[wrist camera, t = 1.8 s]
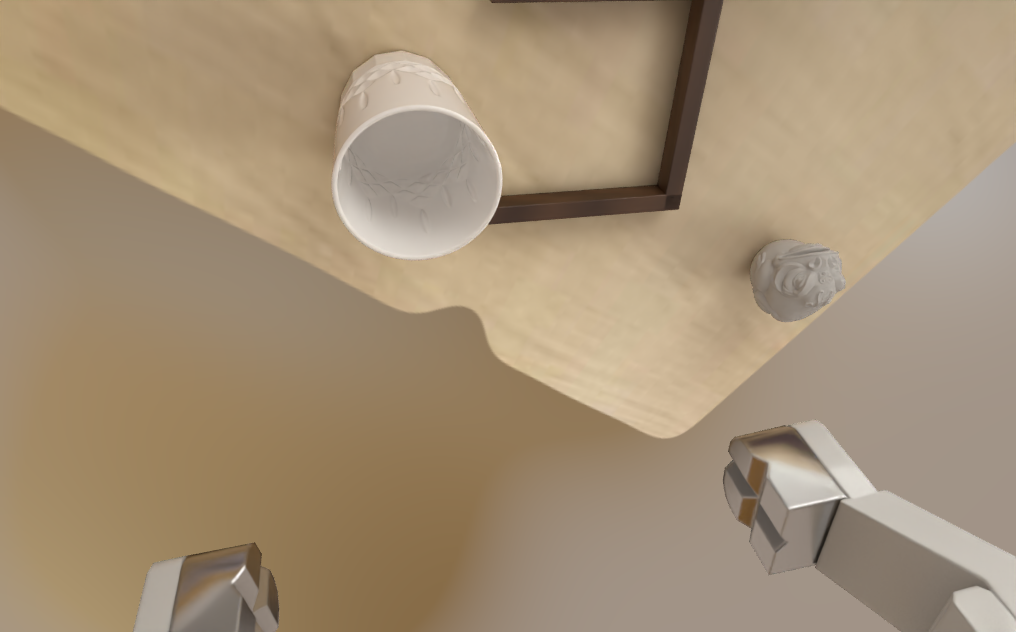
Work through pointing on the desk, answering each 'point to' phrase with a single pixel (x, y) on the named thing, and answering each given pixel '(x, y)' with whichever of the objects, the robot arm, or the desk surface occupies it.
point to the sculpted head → (795, 278)
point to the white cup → (411, 160)
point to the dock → (676, 145)
